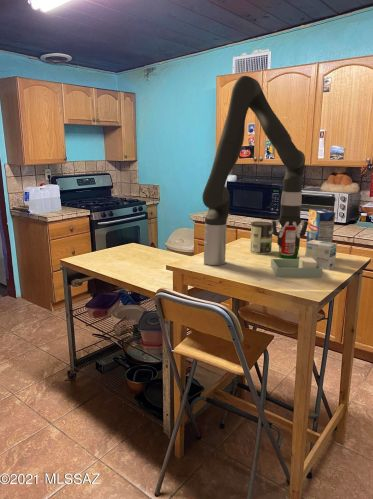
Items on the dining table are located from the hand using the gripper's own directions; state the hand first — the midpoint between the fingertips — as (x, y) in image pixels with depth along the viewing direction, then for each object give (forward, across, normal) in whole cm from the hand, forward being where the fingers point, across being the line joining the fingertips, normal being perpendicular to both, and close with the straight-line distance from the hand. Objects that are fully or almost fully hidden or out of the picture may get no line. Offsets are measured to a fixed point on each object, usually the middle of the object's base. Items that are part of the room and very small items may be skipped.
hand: (287, 246), depth 152 cm
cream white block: (+10, +8, 0) cm, 13 cm away
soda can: (+3, 0, 0) cm, 3 cm away
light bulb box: (+11, +16, +9) cm, 22 cm away
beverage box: (+11, +19, +22) cm, 31 cm away
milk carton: (+11, +6, +23) cm, 26 cm away
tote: (+11, +4, 0) cm, 12 cm away
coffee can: (+11, -5, +33) cm, 35 cm away
